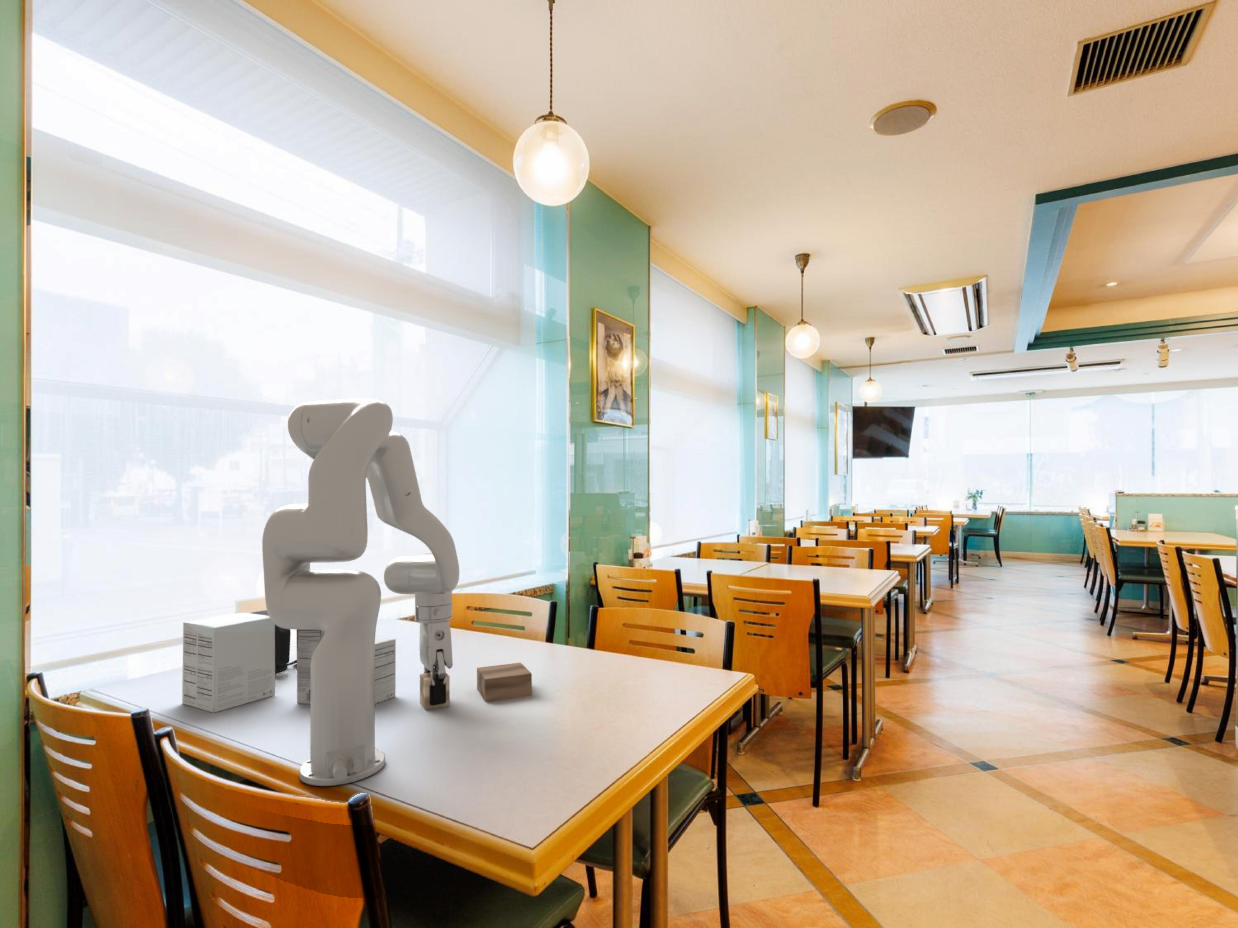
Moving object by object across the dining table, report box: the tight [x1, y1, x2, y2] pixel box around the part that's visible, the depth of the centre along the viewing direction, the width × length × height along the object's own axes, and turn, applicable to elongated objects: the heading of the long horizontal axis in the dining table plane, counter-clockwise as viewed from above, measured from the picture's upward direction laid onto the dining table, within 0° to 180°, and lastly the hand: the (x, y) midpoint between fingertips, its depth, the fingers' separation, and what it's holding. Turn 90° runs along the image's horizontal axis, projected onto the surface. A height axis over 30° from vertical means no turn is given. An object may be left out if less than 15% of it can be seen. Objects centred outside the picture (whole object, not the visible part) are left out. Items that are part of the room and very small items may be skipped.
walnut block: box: [476, 662, 533, 703], centre depth 142 cm, size 10×10×5 cm
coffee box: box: [296, 629, 325, 705], centre depth 141 cm, size 9×6×16 cm
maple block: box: [419, 672, 451, 710], centre depth 134 cm, size 5×5×6 cm
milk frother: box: [250, 609, 297, 673], centre depth 167 cm, size 14×16×15 cm
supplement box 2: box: [375, 636, 397, 705], centre depth 139 cm, size 7×7×13 cm
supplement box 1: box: [181, 611, 276, 713], centre depth 141 cm, size 13×13×18 cm
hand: (434, 699), depth 134 cm, fingers closed on maple block, 5 cm apart
